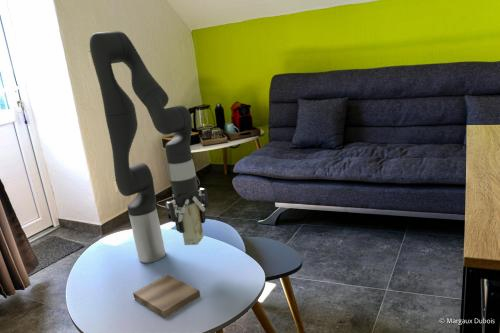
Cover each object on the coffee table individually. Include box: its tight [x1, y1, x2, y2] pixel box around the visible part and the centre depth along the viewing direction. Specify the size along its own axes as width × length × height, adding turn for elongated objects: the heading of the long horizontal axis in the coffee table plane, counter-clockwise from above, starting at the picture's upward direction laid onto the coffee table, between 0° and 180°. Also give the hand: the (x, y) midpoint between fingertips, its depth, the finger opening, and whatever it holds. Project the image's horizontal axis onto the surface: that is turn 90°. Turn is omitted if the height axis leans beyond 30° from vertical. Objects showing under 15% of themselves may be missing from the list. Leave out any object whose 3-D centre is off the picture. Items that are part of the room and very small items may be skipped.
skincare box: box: [178, 203, 205, 246], centre depth 129 cm, size 6×4×12 cm
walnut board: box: [132, 274, 201, 319], centre depth 123 cm, size 16×12×2 cm
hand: (191, 227), depth 130 cm, fingers closed on skincare box, 7 cm apart
